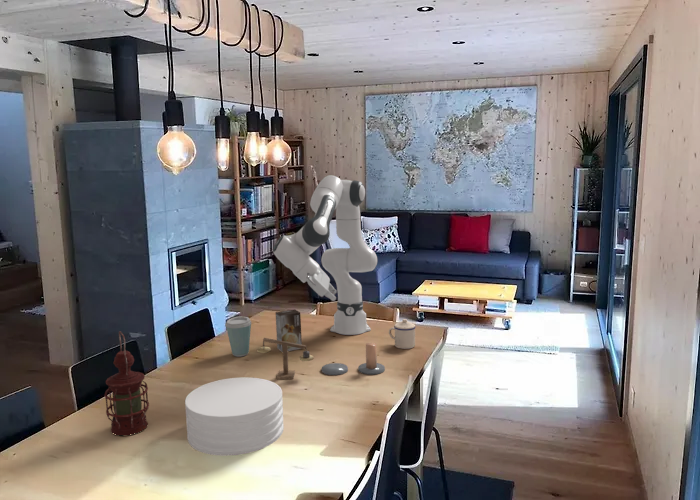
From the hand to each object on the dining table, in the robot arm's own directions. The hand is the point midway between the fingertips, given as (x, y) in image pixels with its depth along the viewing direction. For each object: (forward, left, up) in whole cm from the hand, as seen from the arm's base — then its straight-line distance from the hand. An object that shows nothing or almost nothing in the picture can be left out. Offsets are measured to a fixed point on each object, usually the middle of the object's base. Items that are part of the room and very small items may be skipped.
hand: (335, 296), depth 214 cm
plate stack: (+50, -29, -29) cm, 64 cm away
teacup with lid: (-26, +27, -29) cm, 47 cm away
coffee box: (-24, -21, -29) cm, 43 cm away
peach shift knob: (+2, +13, -27) cm, 30 cm away
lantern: (+47, -62, -29) cm, 83 cm away
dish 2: (+2, +13, -28) cm, 31 cm away
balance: (+7, -19, -28) cm, 35 cm away
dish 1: (+2, -1, -28) cm, 28 cm away
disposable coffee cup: (-18, -41, -29) cm, 53 cm away
